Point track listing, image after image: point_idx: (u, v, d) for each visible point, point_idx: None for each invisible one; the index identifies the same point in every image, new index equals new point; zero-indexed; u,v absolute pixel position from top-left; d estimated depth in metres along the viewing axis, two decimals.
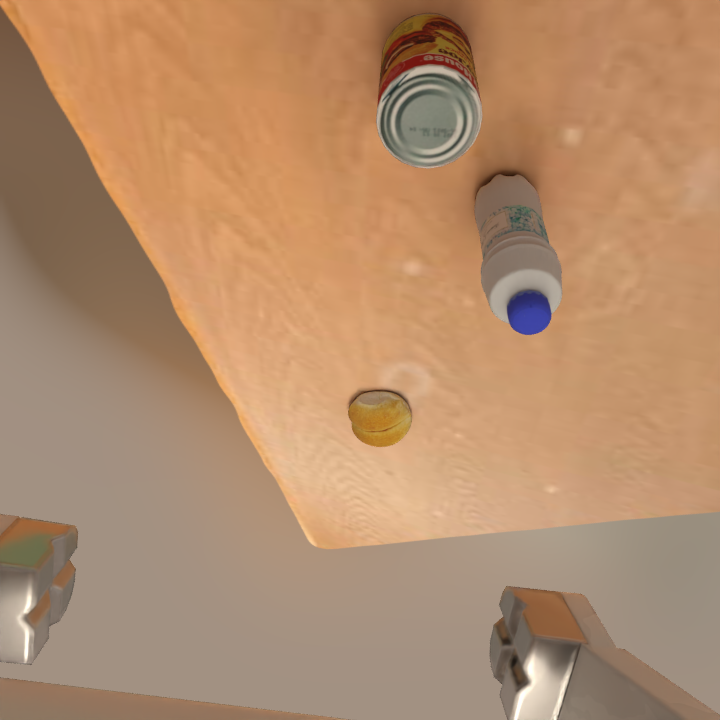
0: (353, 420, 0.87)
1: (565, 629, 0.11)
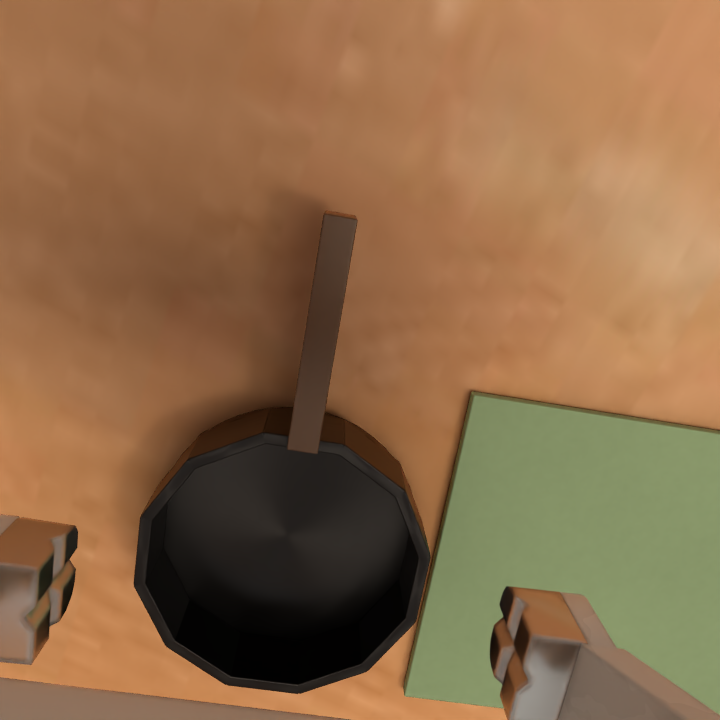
0: None
1: (565, 629, 0.11)
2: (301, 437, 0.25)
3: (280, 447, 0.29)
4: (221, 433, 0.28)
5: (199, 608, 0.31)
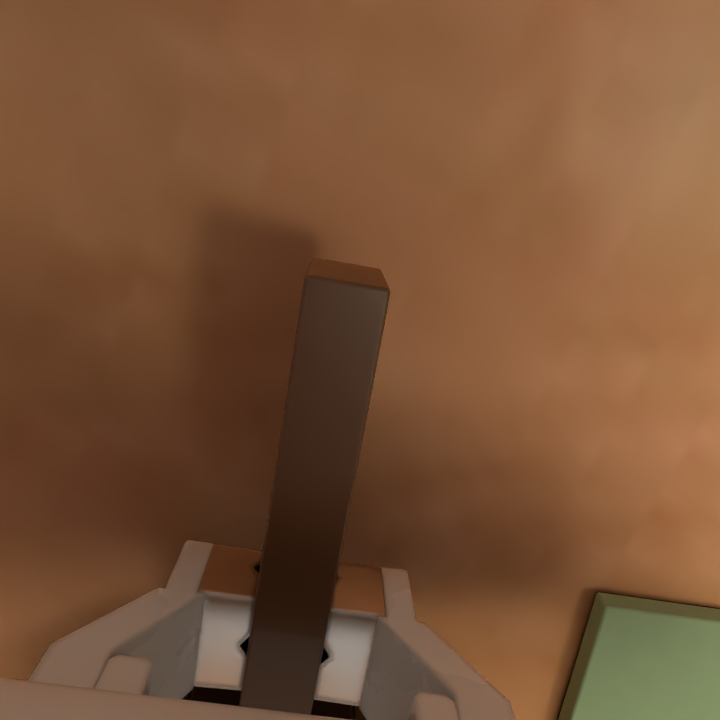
0: None
1: (368, 602, 0.11)
2: None
3: None
4: None
5: None
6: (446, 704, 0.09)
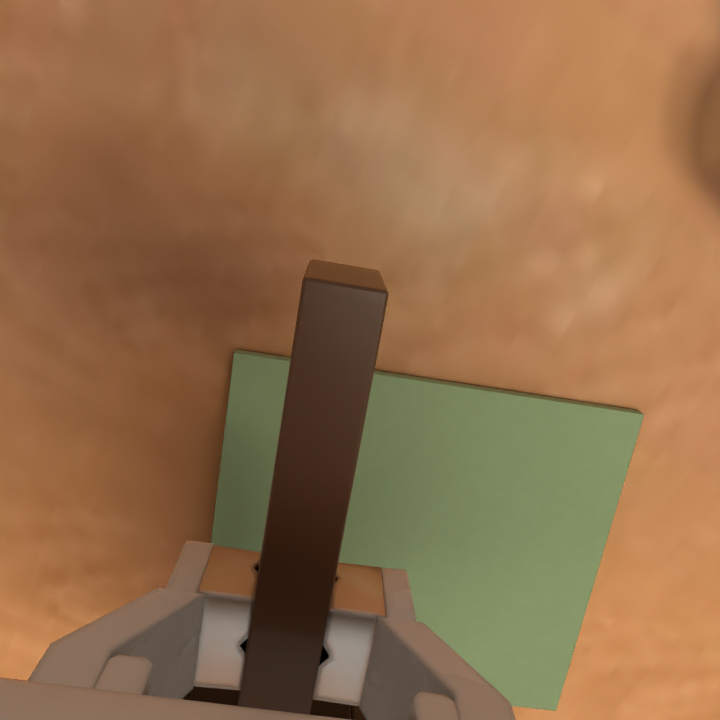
0: None
1: (368, 602, 0.11)
2: None
3: None
4: None
5: None
6: (446, 704, 0.09)
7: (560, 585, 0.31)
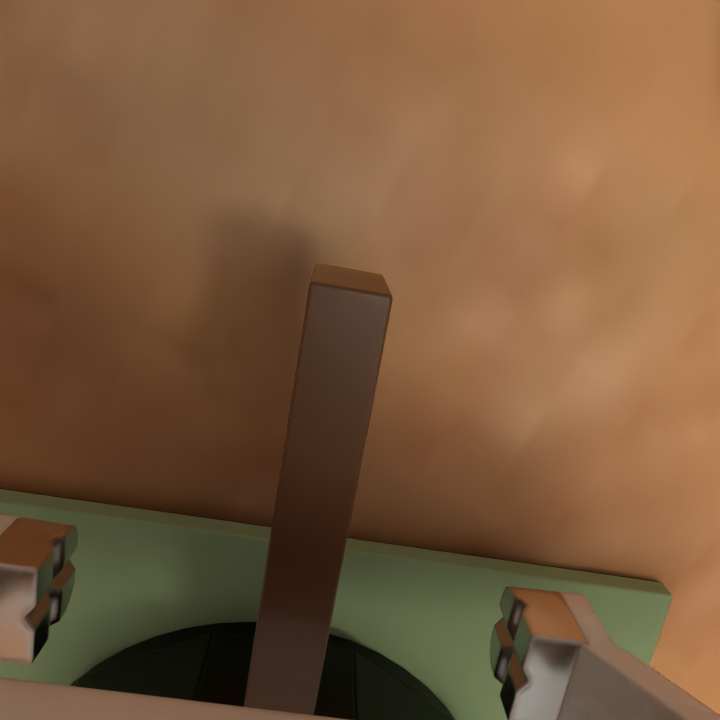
0: None
1: (565, 629, 0.11)
2: None
3: None
4: None
5: None
6: None
7: None
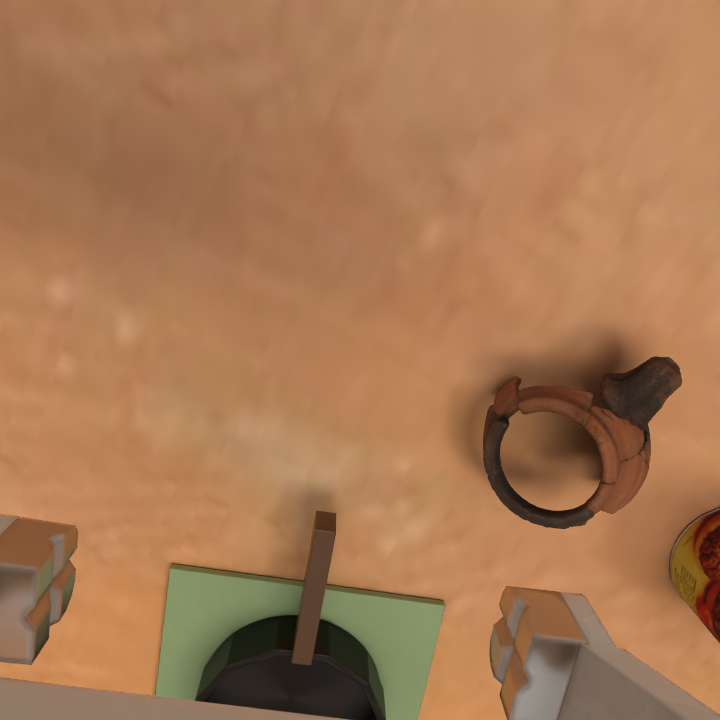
0: None
1: (565, 629, 0.11)
2: (300, 655, 0.39)
3: None
4: (247, 640, 0.42)
5: None
6: None
7: (396, 713, 0.46)
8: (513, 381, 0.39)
